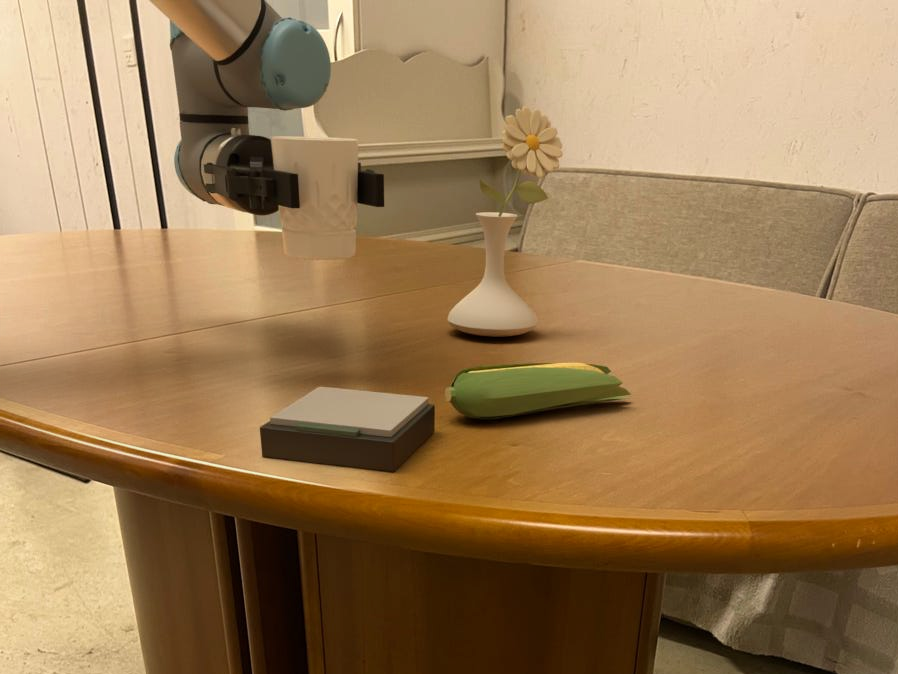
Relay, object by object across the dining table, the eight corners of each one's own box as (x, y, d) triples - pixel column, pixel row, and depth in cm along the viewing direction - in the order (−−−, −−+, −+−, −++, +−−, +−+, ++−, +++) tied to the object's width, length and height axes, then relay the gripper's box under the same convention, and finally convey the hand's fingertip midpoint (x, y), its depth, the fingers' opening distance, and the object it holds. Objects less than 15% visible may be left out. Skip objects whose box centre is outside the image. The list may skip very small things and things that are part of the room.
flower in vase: (453, 344, 111) (457, 103, 99) (441, 324, 121) (444, 103, 108) (559, 343, 113) (576, 108, 101) (539, 325, 123) (552, 107, 110)
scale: (394, 472, 71) (393, 434, 69) (261, 456, 73) (258, 419, 72) (434, 431, 80) (435, 397, 79) (316, 419, 82) (314, 385, 81)
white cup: (299, 263, 84) (292, 138, 79) (265, 252, 90) (256, 135, 85) (375, 259, 88) (373, 140, 83) (338, 249, 94) (334, 137, 89)
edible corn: (435, 415, 84) (435, 365, 82) (615, 395, 93) (620, 348, 91) (460, 431, 81) (461, 378, 78) (646, 408, 89) (652, 360, 87)
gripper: (146, 132, 92) (222, 141, 76) (334, 136, 102) (438, 145, 86) (156, 214, 96) (231, 240, 79) (337, 211, 106) (437, 233, 89)
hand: (338, 191), depth 83 cm, fingers closed on white cup, 8 cm apart
